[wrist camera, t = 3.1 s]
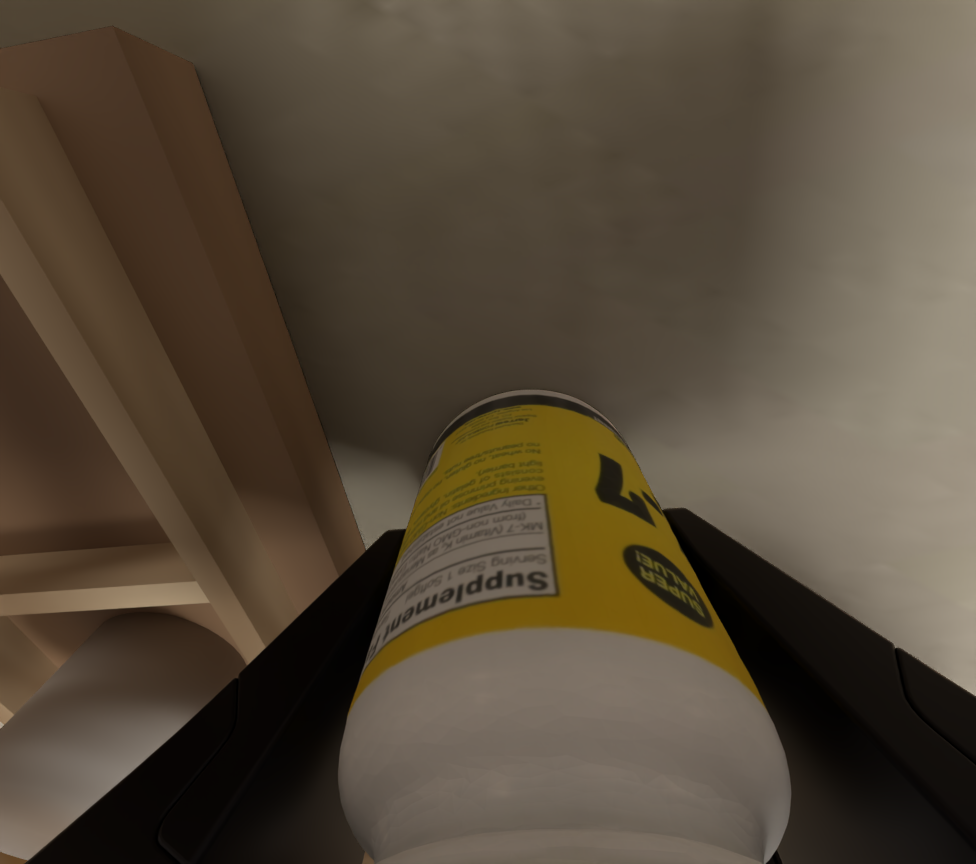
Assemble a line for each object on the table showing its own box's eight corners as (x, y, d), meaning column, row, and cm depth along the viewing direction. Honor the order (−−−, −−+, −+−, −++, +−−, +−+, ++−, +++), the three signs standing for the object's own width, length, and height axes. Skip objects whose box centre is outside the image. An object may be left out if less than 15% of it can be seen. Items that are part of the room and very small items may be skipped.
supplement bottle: (657, 512, 10) (1064, 1317, 3) (488, 573, 11) (459, 1253, 4) (581, 342, 8) (1243, 1473, 1) (388, 438, 9) (-27, 1255, 2)
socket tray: (193, 63, 6) (-488, -254, 2) (454, 799, 18) (437, 994, 13) (-378, 172, 7) (-1666, 119, 3) (213, 803, 19) (124, 986, 14)
